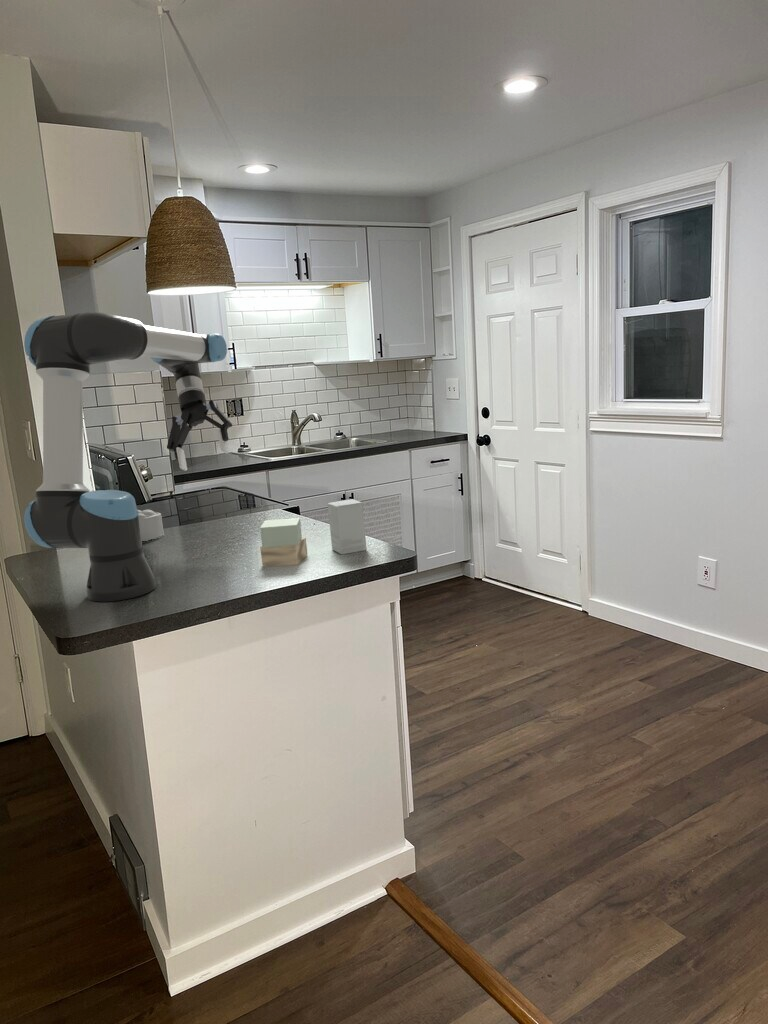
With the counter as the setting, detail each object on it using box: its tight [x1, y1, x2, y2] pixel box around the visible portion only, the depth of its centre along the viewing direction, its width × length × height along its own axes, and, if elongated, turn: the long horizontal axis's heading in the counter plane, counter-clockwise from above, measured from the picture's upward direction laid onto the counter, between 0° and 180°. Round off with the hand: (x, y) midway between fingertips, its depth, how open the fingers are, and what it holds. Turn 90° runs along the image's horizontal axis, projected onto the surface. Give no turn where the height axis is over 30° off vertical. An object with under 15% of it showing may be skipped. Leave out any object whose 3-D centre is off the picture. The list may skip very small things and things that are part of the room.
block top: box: [259, 517, 303, 548], centre depth 191 cm, size 9×9×5 cm
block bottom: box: [260, 536, 308, 566], centre depth 192 cm, size 9×9×5 cm
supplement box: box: [327, 498, 367, 555], centre depth 197 cm, size 7×7×13 cm
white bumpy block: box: [138, 509, 165, 541], centre depth 233 cm, size 10×13×9 cm
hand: (204, 460), depth 213 cm, fingers open, 13 cm apart
